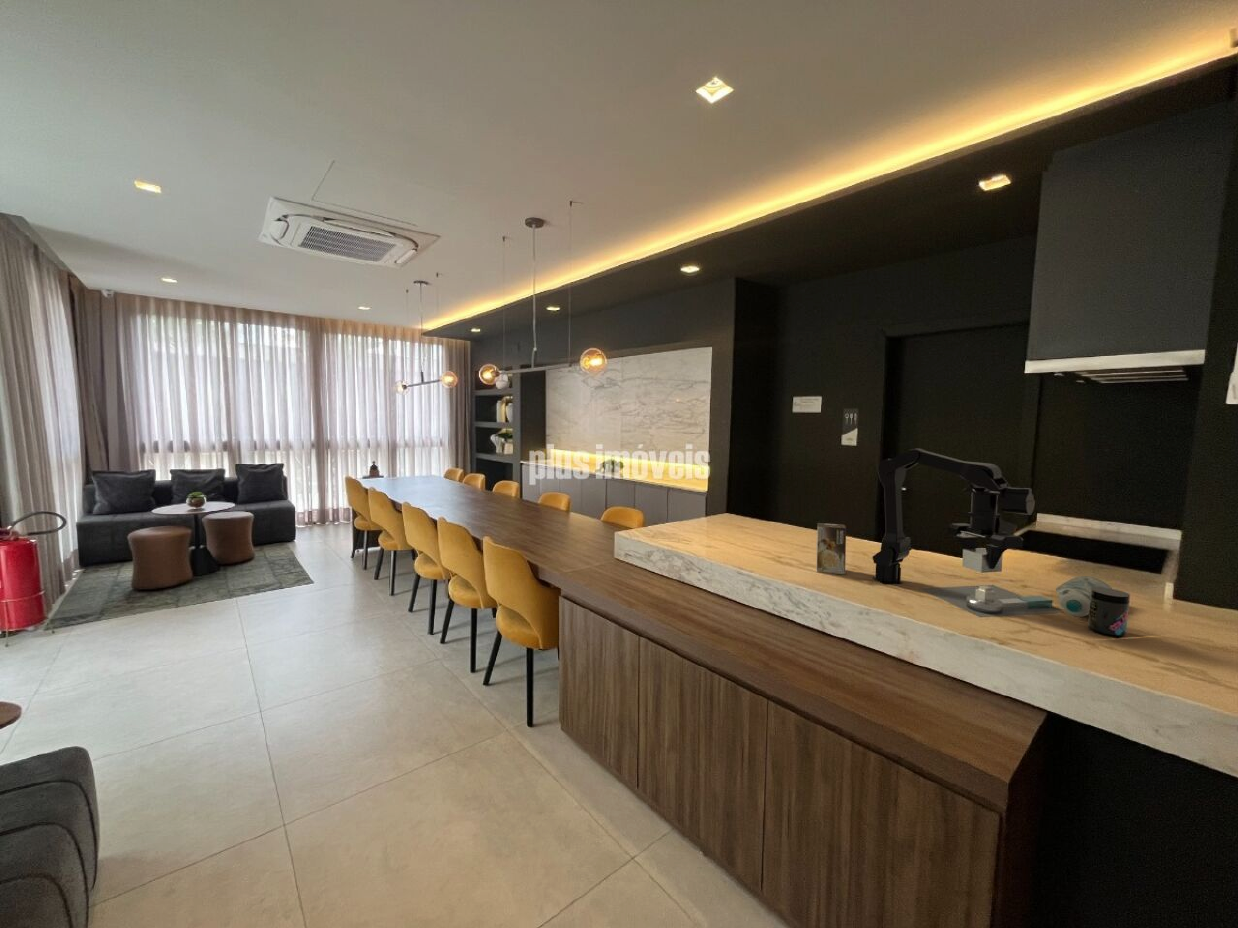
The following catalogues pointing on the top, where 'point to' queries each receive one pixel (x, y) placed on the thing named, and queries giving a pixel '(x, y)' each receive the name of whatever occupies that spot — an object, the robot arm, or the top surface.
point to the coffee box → (831, 548)
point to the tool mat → (960, 594)
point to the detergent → (1078, 594)
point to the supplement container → (1108, 612)
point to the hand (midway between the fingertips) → (981, 565)
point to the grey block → (979, 561)
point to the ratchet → (1003, 602)
